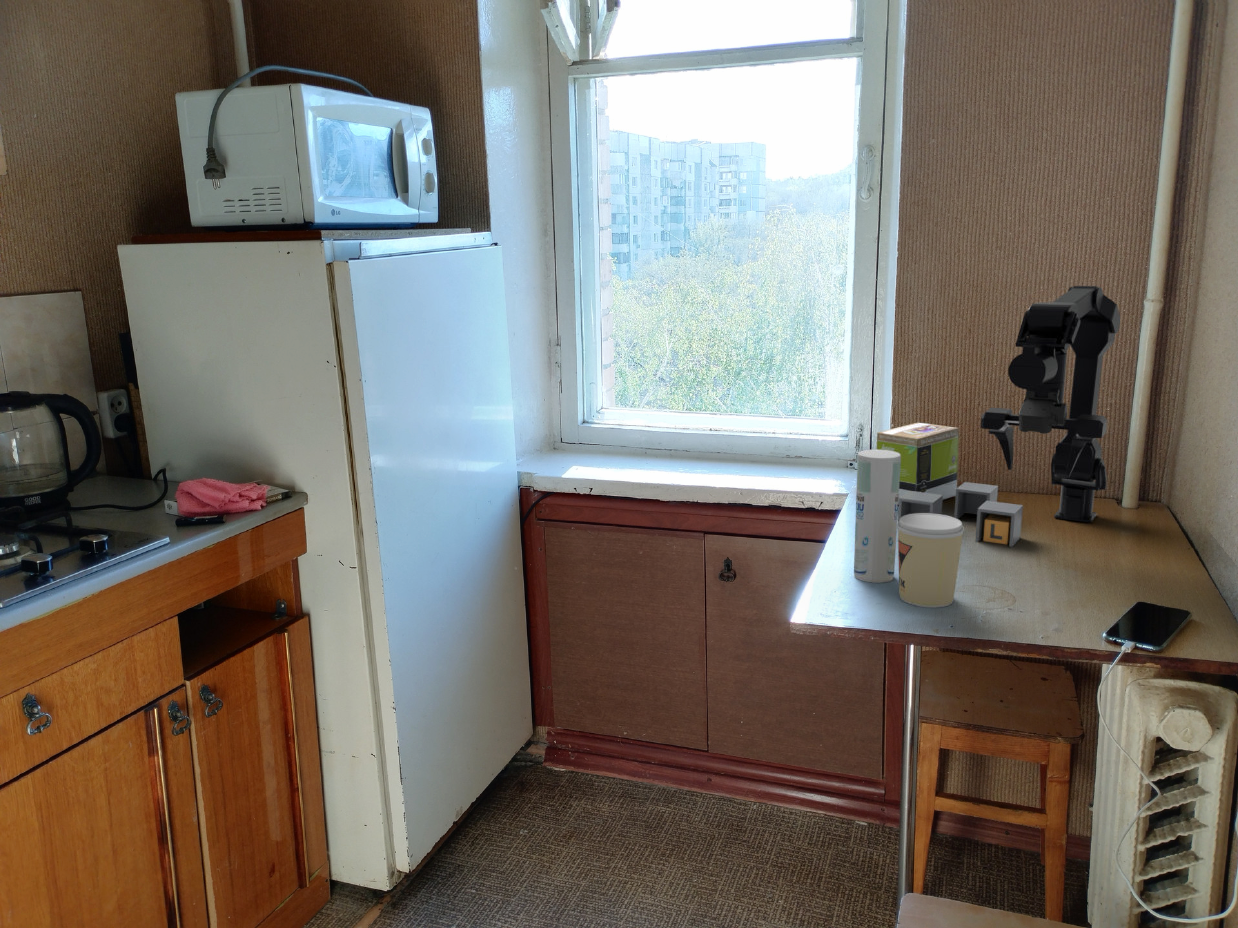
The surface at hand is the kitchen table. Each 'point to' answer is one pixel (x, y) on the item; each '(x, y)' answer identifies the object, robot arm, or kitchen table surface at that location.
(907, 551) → the coffee cup
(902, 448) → the tea box
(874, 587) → the kitchen table surface
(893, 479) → the spray can
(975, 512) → the open box
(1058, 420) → the robot arm
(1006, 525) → the orange cube
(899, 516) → the grey u-shaped block
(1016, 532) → the grey bracket
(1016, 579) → the kitchen table surface
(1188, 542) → the kitchen table surface
